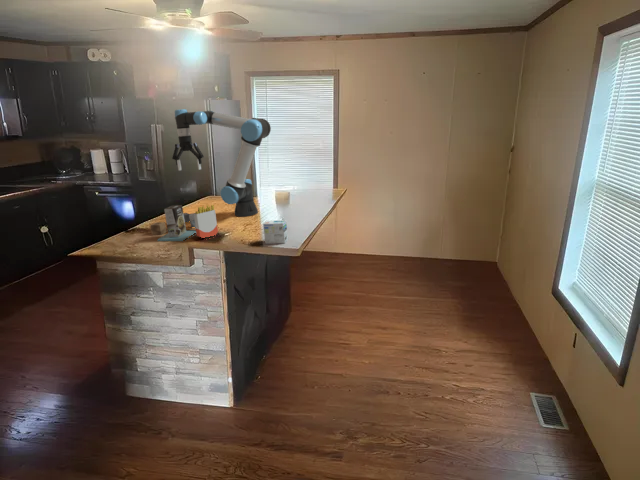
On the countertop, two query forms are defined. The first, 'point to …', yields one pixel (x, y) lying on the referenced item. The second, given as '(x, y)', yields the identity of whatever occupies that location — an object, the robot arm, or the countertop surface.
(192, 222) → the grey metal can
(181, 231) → the coffee box
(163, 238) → the pad
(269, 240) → the light bulb box
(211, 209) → the french fries container
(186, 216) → the charcoal box
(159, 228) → the walnut block
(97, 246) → the countertop surface
